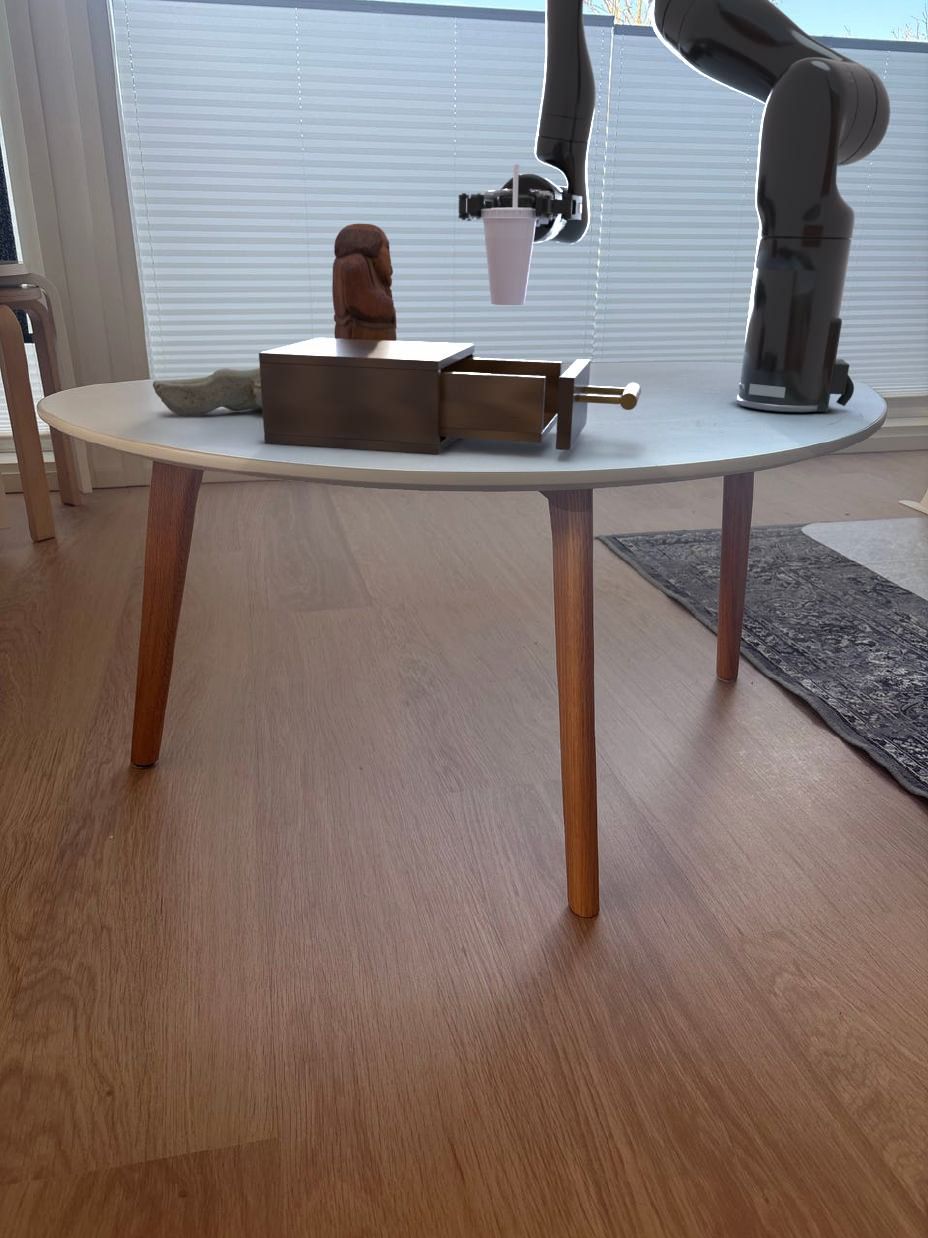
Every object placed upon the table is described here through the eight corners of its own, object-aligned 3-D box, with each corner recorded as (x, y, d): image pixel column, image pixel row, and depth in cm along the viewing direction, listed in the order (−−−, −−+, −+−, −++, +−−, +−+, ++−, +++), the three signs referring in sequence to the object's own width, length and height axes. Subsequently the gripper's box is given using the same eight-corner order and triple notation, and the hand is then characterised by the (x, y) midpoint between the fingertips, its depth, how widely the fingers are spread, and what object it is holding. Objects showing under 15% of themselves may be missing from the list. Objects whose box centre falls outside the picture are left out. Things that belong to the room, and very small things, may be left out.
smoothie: (532, 306, 100) (536, 161, 95) (474, 305, 101) (475, 162, 96) (540, 302, 106) (544, 166, 101) (484, 301, 107) (486, 166, 102)
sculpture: (160, 430, 89) (314, 411, 93) (150, 379, 88) (308, 362, 91) (159, 420, 96) (304, 404, 100) (150, 373, 94) (298, 358, 98)
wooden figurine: (406, 406, 100) (404, 223, 93) (347, 407, 98) (341, 222, 91) (385, 389, 110) (382, 224, 103) (331, 390, 108) (325, 223, 102)
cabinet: (473, 425, 90) (474, 343, 87) (437, 454, 78) (438, 360, 75) (321, 416, 93) (317, 337, 90) (264, 442, 81) (258, 352, 78)
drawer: (639, 426, 86) (645, 361, 84) (630, 454, 75) (637, 380, 72) (436, 414, 90) (436, 352, 88) (399, 439, 79) (398, 369, 76)
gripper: (474, 175, 113) (439, 166, 98) (593, 175, 110) (576, 164, 95) (473, 242, 116) (440, 242, 101) (589, 243, 113) (572, 244, 98)
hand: (506, 205), depth 98 cm, fingers closed on smoothie, 6 cm apart
